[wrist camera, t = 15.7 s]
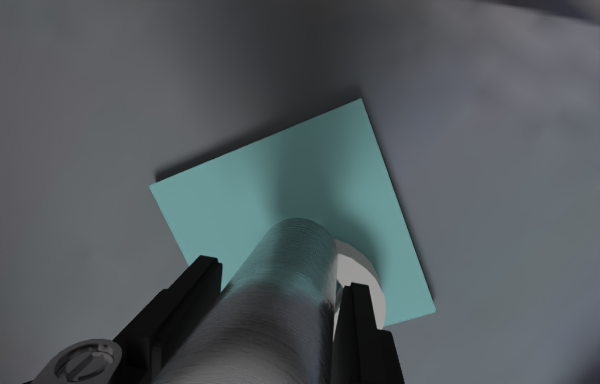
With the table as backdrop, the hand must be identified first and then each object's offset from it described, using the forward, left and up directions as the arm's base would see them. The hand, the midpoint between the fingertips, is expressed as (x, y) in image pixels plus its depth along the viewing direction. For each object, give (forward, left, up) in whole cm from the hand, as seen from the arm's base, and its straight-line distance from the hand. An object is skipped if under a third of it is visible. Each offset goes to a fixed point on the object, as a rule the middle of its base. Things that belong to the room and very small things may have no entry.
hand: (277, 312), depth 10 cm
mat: (0, 0, -6) cm, 6 cm away
